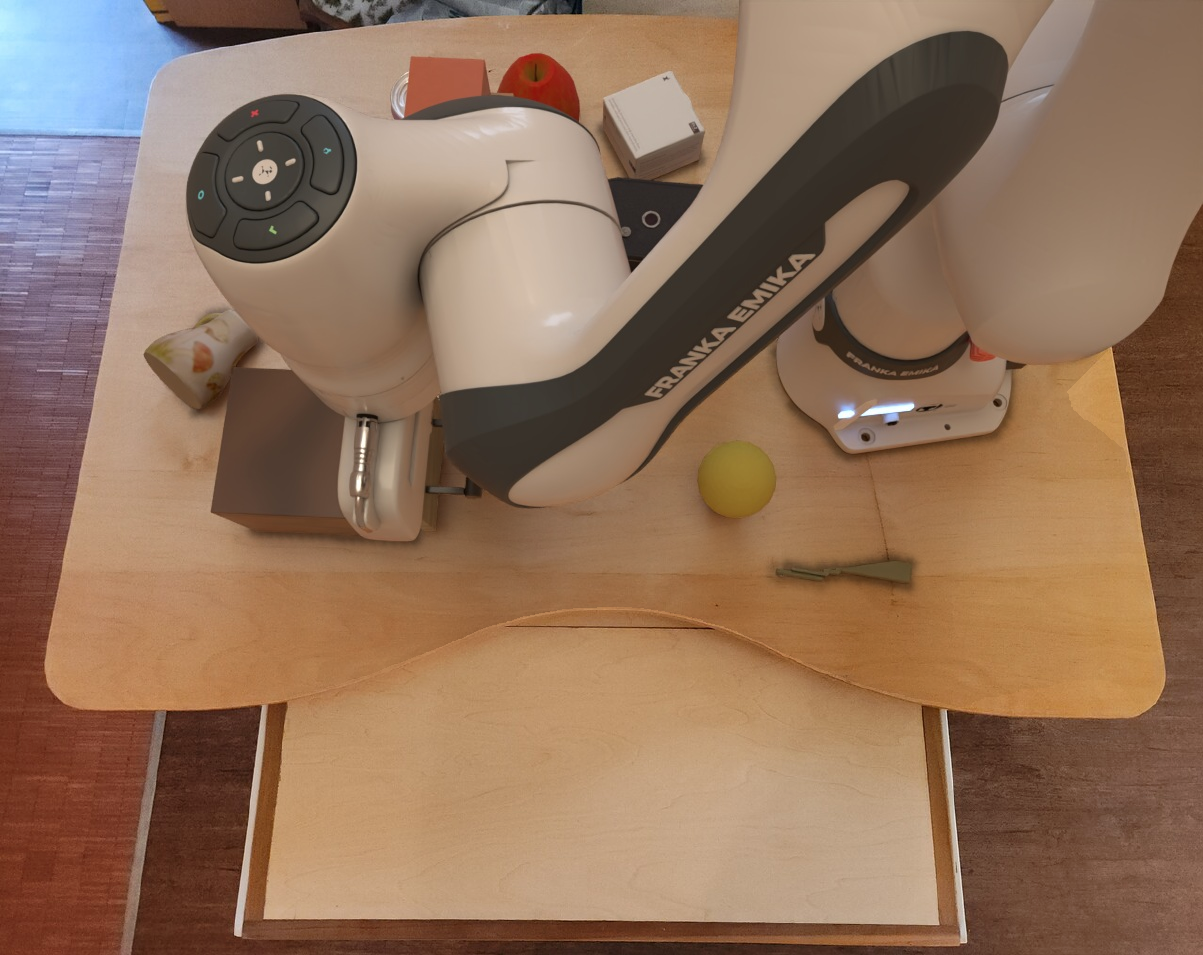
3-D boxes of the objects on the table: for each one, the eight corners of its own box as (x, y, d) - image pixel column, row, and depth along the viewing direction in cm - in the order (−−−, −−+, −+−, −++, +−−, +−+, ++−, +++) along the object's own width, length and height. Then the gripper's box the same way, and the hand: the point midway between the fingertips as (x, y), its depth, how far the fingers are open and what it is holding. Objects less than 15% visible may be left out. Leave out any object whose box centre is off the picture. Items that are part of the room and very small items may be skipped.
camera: (594, 324, 82) (746, 331, 80) (580, 270, 71) (757, 277, 69) (603, 228, 84) (751, 232, 83) (591, 161, 73) (762, 165, 72)
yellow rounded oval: (745, 451, 78) (767, 420, 68) (770, 518, 77) (796, 495, 67) (679, 472, 78) (691, 444, 68) (702, 540, 76) (718, 520, 66)
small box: (600, 128, 86) (601, 95, 81) (668, 101, 87) (672, 66, 82) (632, 189, 84) (635, 159, 79) (701, 161, 85) (708, 129, 80)
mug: (289, 339, 80) (232, 353, 71) (234, 409, 83) (172, 431, 74) (230, 285, 80) (164, 292, 70) (177, 357, 82) (107, 373, 73)
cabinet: (425, 407, 79) (404, 374, 70) (413, 538, 76) (389, 520, 67) (273, 400, 79) (232, 366, 70) (254, 530, 76) (210, 512, 67)
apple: (491, 159, 85) (477, 87, 74) (516, 93, 87) (506, 14, 76) (567, 180, 84) (563, 111, 74) (591, 113, 86) (590, 36, 76)
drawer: (496, 414, 78) (486, 388, 71) (487, 533, 75) (476, 519, 68) (303, 405, 78) (274, 378, 71) (287, 524, 75) (255, 509, 68)
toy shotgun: (908, 561, 76) (912, 560, 75) (910, 583, 75) (913, 582, 74) (774, 559, 76) (776, 558, 75) (775, 581, 75) (777, 580, 74)
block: (493, 108, 54) (484, 59, 50) (488, 169, 53) (479, 124, 49) (425, 105, 54) (410, 55, 50) (418, 166, 53) (403, 120, 49)
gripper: (412, 525, 43) (453, 560, 57) (445, 181, 48) (476, 288, 62) (292, 520, 43) (362, 555, 57) (337, 176, 48) (392, 284, 62)
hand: (422, 414), depth 59 cm, fingers closed
